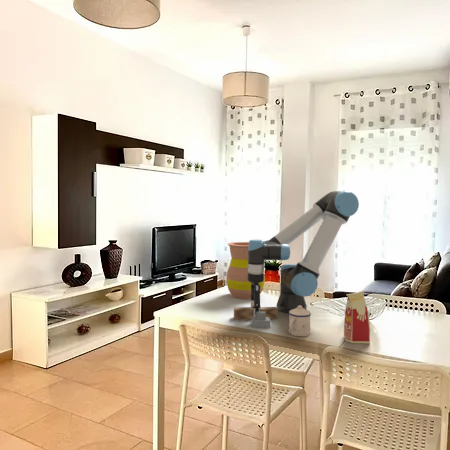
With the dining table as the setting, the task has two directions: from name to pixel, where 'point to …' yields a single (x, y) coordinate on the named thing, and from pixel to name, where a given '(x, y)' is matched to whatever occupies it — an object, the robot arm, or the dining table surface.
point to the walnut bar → (248, 312)
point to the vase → (240, 271)
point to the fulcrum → (260, 320)
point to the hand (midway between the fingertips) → (254, 317)
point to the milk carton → (356, 319)
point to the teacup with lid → (299, 322)
